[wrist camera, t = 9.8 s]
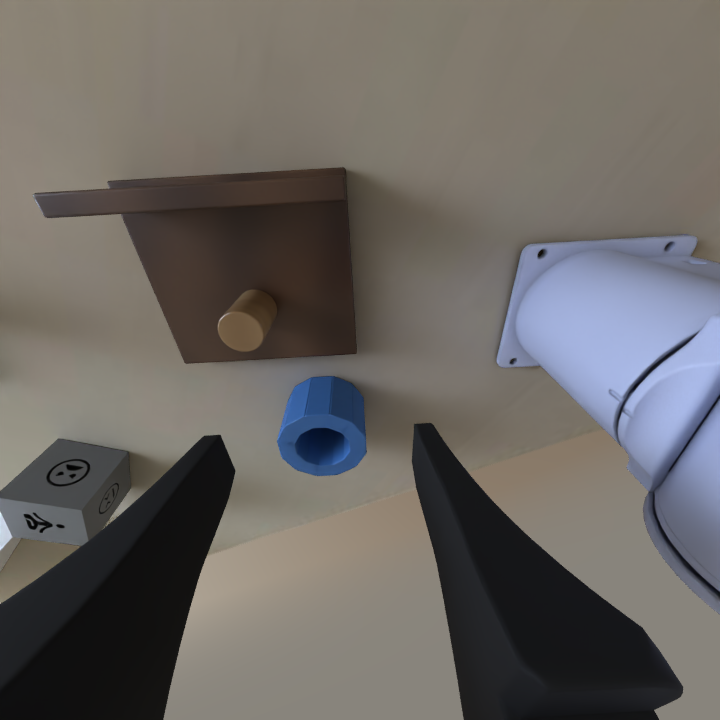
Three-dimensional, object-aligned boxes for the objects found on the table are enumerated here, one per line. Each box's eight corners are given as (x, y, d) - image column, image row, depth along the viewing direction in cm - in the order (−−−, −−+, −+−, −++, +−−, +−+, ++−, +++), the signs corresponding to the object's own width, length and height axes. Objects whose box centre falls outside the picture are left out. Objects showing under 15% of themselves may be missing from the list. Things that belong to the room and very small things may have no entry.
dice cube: (58, 438, 23) (-7, 497, 19) (128, 451, 24) (81, 510, 20) (67, 477, 26) (12, 537, 22) (130, 487, 27) (89, 547, 23)
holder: (345, 167, 14) (343, 164, 10) (356, 346, 20) (358, 393, 15) (119, 180, 14) (24, 183, 10) (191, 356, 20) (148, 405, 16)
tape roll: (362, 374, 21) (364, 412, 18) (365, 431, 24) (367, 473, 20) (282, 378, 21) (269, 417, 18) (295, 435, 24) (286, 478, 20)
